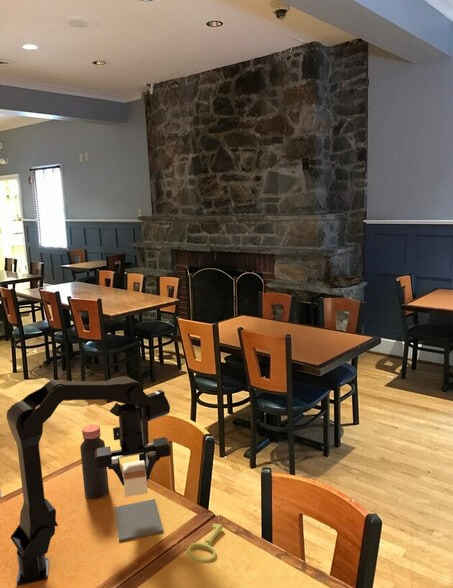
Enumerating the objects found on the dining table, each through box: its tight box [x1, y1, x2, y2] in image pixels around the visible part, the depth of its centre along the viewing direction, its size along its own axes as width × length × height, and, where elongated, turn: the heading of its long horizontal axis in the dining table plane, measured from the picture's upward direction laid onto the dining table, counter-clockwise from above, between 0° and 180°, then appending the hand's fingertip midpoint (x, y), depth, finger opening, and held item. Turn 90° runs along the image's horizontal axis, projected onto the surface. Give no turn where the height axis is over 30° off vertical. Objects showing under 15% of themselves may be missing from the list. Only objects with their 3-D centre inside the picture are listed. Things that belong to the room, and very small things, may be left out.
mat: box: [114, 498, 164, 543], centre depth 128 cm, size 14×11×1 cm
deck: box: [122, 459, 148, 498], centre depth 126 cm, size 6×9×5 cm, turn 13°
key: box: [186, 522, 224, 563], centre depth 118 cm, size 7×12×2 cm, turn 170°
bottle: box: [79, 423, 110, 499], centre depth 140 cm, size 7×7×20 cm
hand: (135, 482), depth 126 cm, fingers closed on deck, 6 cm apart
